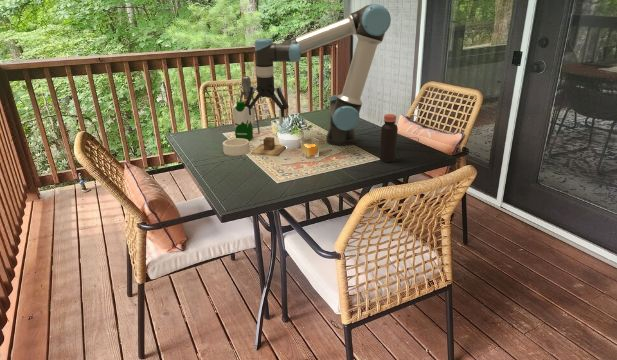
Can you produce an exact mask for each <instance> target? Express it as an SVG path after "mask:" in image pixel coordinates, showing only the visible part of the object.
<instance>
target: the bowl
mask: <svg viewBox="0 0 617 360" xmlns="http://www.w3.org/2000/svg"><path fill="white" fill-rule="evenodd" d="M250 147H251V146H250V141H248V140H247V139H242V138H236V137H235V138H229V139H225V140H224V141H222V148H223V149H222V150H223V154H224V155H226V156H231V157H233V156H234V157H237V156H243V155H246V154H249V153H250V151H251V150H250V149H251V148H250Z"/></svg>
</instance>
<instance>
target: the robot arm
mask: <svg viewBox="0 0 617 360" xmlns="http://www.w3.org/2000/svg"><path fill="white" fill-rule="evenodd" d="M391 21H392V17H391V14H390V12H389V10H388V9H387V8H386V7H385V6H384V5H381V4H377V3H376V4H375V3H374V4H367V5H365V6H363V7H361V8H360V9H357V10H356V11H354V12H352V13H349V14H348V15H347V17H345V18H342V19H340V20H337V21H334V22H332V23H330V24H327V25H323V26H321V27H318V28H317V29H314V30H311V31H308V32H306V33H304V34H301V35H298V36H296V37H294V38H290V39H287V40H284V41H282V42H281V43H274V41H273V39H272V38H257V39H256V40H255V41H254V56H255V57H254V58H255V73H256V86H255V85H251V87H250V93H249V95H248V98H247V99H246V101H245V105H244V106H245V107H248V108H249V115H251V123H252V124H254V123H255V122H256V114H255V109H254V104H255V105H256V103H257V102H258V101H259V99H260V98H268V99H269V98H270V99H271V100H272V101H273V102H274V103H275V105H276V106H277V107H278V108H279V110H278V115H279V116H278V118H279V119H278V120H279V121H278V122H279V123H278V124H279V125H280V126H282V125H283V123H284V118H285V114H286V113H285V111H286V110H288V109H289V107H290V106H289V105H288V102H287V101H286V98H285V96H284V95H283V92H282V88H281V87H279V86H278V87H275V83H274V82H275V78H274V62H275V63H277V62H278V63H279V62H280V63H284V62H285V63H286V62H287V63H295V62H296V63H297V62H300V61H301V55H302V54H304V53H306V52H309V51H312V50H314V49H318V48H319V47H323V46H325V45H327V44H330V43H333V42H335V41H338V40H342V39H343V38H346V37H350V36H351V35H354V36H356V38H357V41H356V45H355V49H354V51H353V55H352V59H351V62H350V66H349V69H348V72H347V75H346V79H345V82H344V86H343V89H342V92H341V94H334V95H331V96H330V98H329V127H328V131H327V134H326V136H325V137H326V140H325V141H326V142H327V143H328V144H330V145H334V146H350V145H354V144H355V143H357V141H358V137H357V132H356V130H355V127H357V126H358V124H359V122H360V118H361V117H360V111H361V109H362V106H363V102H362V100H361V97H362V95H363V92H364V88H365V85H366V81H367V79H368V76H369V72H370V70H371V69H370V68H371V66H372V64H373V60H374V56H375V54H376V51H377V47H378V45H380V44H381V43H383V40H384V37H385V34H386V32H388V30H389V28H390V26H391ZM255 92H257V95H256V96H254V94H255ZM275 92H276V93H275ZM276 94H277V96H276ZM252 97H254V100H253V101H252Z"/></svg>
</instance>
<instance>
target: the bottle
mask: <svg viewBox="0 0 617 360" xmlns="http://www.w3.org/2000/svg"><path fill="white" fill-rule="evenodd" d="M383 118H384V119H383V121H384V124H383V125H382V126H381V130H380V148H379V149H380V150H379V153H380V154H379V160H380V162H382V161H383V162H382V163H386V162H391V163H394V162H396V159H397V158H396V157H397V142H398V129H399V127H398V125H396V122H397V115H396V114H391V113H390V114H389V113H388V114H384V117H383ZM393 161H394V162H393Z"/></svg>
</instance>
